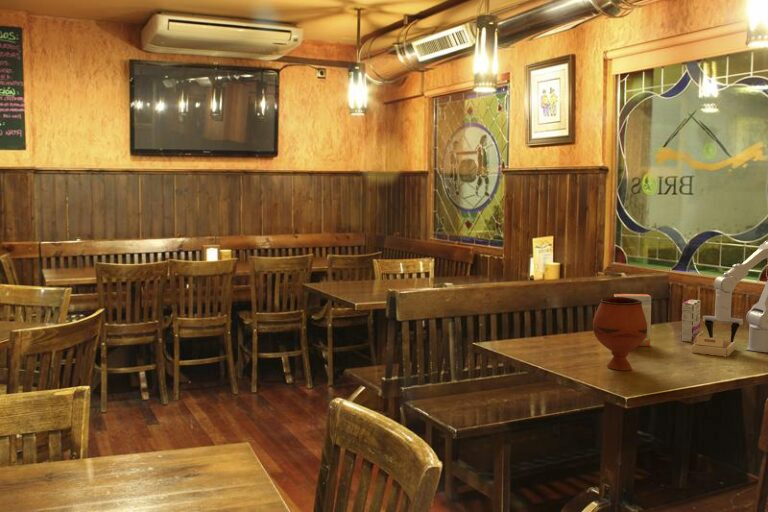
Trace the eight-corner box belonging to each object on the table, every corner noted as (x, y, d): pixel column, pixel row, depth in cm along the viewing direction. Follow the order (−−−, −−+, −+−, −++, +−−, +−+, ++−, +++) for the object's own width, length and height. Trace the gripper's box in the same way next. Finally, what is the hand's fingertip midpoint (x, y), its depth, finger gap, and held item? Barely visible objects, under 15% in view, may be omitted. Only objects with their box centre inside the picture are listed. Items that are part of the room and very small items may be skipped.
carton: (735, 349, 308) (735, 340, 307) (727, 357, 294) (728, 348, 294) (700, 345, 315) (701, 337, 315) (691, 352, 301) (692, 344, 301)
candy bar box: (687, 336, 331) (689, 299, 329) (699, 338, 328) (701, 300, 326) (680, 341, 322) (681, 302, 320) (692, 342, 319) (694, 303, 317)
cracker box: (646, 343, 318) (648, 293, 315) (650, 346, 312) (652, 296, 309) (612, 342, 319) (613, 293, 317) (615, 346, 313) (616, 295, 311)
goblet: (604, 358, 292) (606, 293, 289) (654, 366, 280) (657, 299, 277) (582, 368, 277) (584, 300, 274) (634, 377, 265) (637, 306, 262)
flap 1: (704, 330, 312) (703, 330, 312) (697, 336, 301) (696, 335, 301) (700, 337, 313) (699, 336, 313) (693, 343, 302) (692, 342, 302)
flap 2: (697, 336, 301) (697, 336, 301) (723, 339, 296) (723, 339, 295) (696, 344, 300) (696, 343, 300) (722, 347, 295) (722, 347, 294)
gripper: (701, 306, 303) (699, 340, 304) (741, 310, 295) (739, 344, 296) (705, 303, 309) (703, 337, 310) (744, 307, 301) (742, 341, 302)
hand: (721, 340), depth 304 cm, fingers open, 7 cm apart
